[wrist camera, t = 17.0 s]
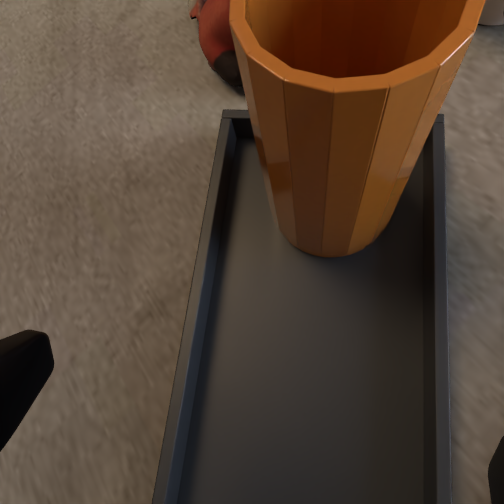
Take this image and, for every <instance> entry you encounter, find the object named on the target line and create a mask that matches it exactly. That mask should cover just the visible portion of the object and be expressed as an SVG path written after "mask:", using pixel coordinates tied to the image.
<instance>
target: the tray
mask: <svg viewBox="0 0 504 504" xmlns="http://www.w3.org/2000/svg"><path fill="white" fill-rule="evenodd" d="M152 504H452V480H451V431H450V382H449V333H448V283H447V234H446V185H445V136H444V114H438V115H437V117H436V119H435V122H434V124H433V126H432V128H431V130H430V133H429V135H428V137H427V139H426V141H425V144H424V146H423V148H422V150H421V152H420V155H419V157H418V159H417V161H416V163H415V165H414V168H413V170H412V172H411V174H410V176H409V179H408V181H407V183H406V185H405V187H404V190H403V192H402V194H401V196H400V198H399V201H398V203H397V205H396V207H395V209H394V212H393V214H392V216H391V218H390V220H389V223H388V225H387V226H386V228H385V229H384V230H383V232H382V233H381V234H380V236H379V237H378V238H377V239H376V240H375V241H374V242H373V243H372V244H370V245H369V246H367V247H366V248H364V249H362V250H360V251H358V252H356V253H353V254H351V255H347V256H342V257H321V256H315V255H312V254H309V253H306V252H304V251H302V250H300V249H298V248H296V247H295V246H293V245H292V244H291V243H290V242H288V241H287V240H286V239H285V238H284V237H283V235H282V234H281V233H280V231H279V230H278V228H277V226H276V224H275V221H274V219H273V215H272V213H271V211H270V206H269V202H268V197H267V193H266V188H265V184H264V179H263V174H262V170H261V165H260V161H259V156H258V152H257V147H256V143H255V138H254V133H253V129H252V124H251V120H250V115H249V111H248V110H223V113H222V119H221V124H220V129H219V135H218V140H217V146H216V151H215V157H214V162H213V168H212V173H211V179H210V184H209V190H208V195H207V201H206V207H205V212H204V218H203V223H202V229H201V234H200V240H199V245H198V251H197V256H196V262H195V267H194V273H193V278H192V284H191V289H190V295H189V300H188V306H187V311H186V317H185V322H184V328H183V334H182V339H181V345H180V350H179V356H178V361H177V367H176V372H175V378H174V383H173V389H172V394H171V400H170V405H169V411H168V416H167V422H166V427H165V433H164V438H163V444H162V449H161V455H160V460H159V466H158V472H157V477H156V483H155V488H154V494H153V499H152Z"/></svg>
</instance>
